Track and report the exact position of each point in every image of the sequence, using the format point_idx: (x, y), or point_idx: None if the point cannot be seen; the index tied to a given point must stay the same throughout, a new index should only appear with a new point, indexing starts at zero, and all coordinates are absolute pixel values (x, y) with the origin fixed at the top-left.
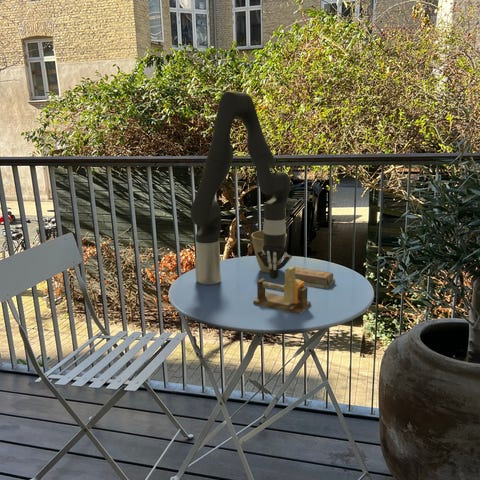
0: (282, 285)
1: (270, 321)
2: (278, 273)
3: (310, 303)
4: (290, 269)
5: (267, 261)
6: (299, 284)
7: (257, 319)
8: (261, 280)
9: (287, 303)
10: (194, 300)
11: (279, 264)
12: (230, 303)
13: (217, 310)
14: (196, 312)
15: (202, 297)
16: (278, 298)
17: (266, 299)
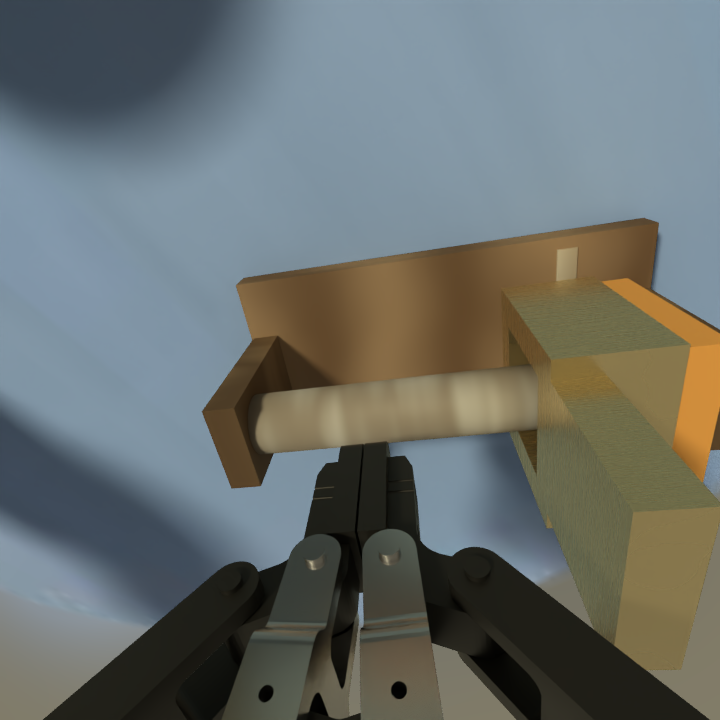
0: (465, 422)
1: (506, 531)
2: (414, 493)
3: (650, 221)
4: (681, 626)
5: (206, 626)
6: (702, 447)
7: (436, 544)
8: (239, 453)
9: (499, 358)
10: (41, 546)
11: (422, 586)
12: (190, 487)
13: (214, 565)
14: (169, 611)
15: (27, 507)
16: (392, 325)
17: (335, 385)
